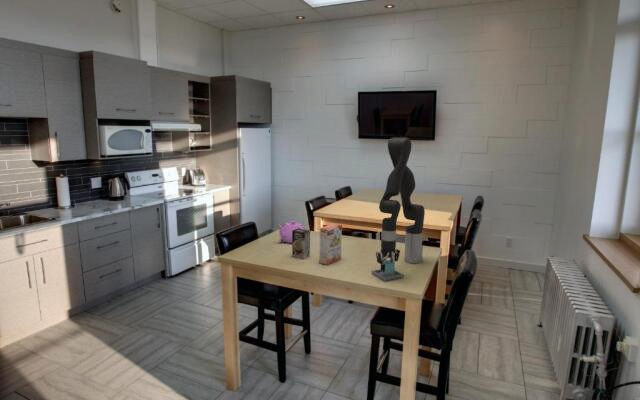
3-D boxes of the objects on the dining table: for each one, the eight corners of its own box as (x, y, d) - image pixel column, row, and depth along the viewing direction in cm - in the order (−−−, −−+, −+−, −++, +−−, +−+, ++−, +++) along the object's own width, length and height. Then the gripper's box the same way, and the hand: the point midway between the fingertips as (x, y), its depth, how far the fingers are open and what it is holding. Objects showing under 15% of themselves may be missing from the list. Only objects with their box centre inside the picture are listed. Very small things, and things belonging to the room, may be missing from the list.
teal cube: (388, 269, 204) (388, 259, 203) (394, 272, 199) (394, 262, 198) (380, 270, 202) (381, 261, 201) (386, 273, 197) (386, 264, 196)
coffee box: (291, 256, 231) (291, 230, 228) (298, 253, 236) (297, 228, 233) (304, 259, 226) (304, 232, 223) (310, 256, 232) (310, 230, 229)
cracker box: (327, 265, 216) (327, 229, 212) (319, 263, 220) (319, 227, 216) (341, 259, 227) (342, 224, 223) (333, 257, 231) (333, 222, 227)
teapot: (268, 241, 263) (267, 221, 260) (293, 235, 277) (292, 216, 275) (288, 248, 247) (287, 227, 245) (313, 241, 262) (313, 221, 259)
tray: (389, 270, 209) (389, 267, 208) (403, 278, 198) (403, 274, 198) (371, 274, 204) (371, 270, 203) (384, 281, 193) (384, 278, 193)
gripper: (395, 235, 204) (394, 265, 207) (372, 238, 198) (371, 269, 201) (404, 238, 197) (403, 270, 200) (381, 241, 191) (380, 274, 194)
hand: (387, 270), depth 200 cm, fingers closed on teal cube, 5 cm apart
